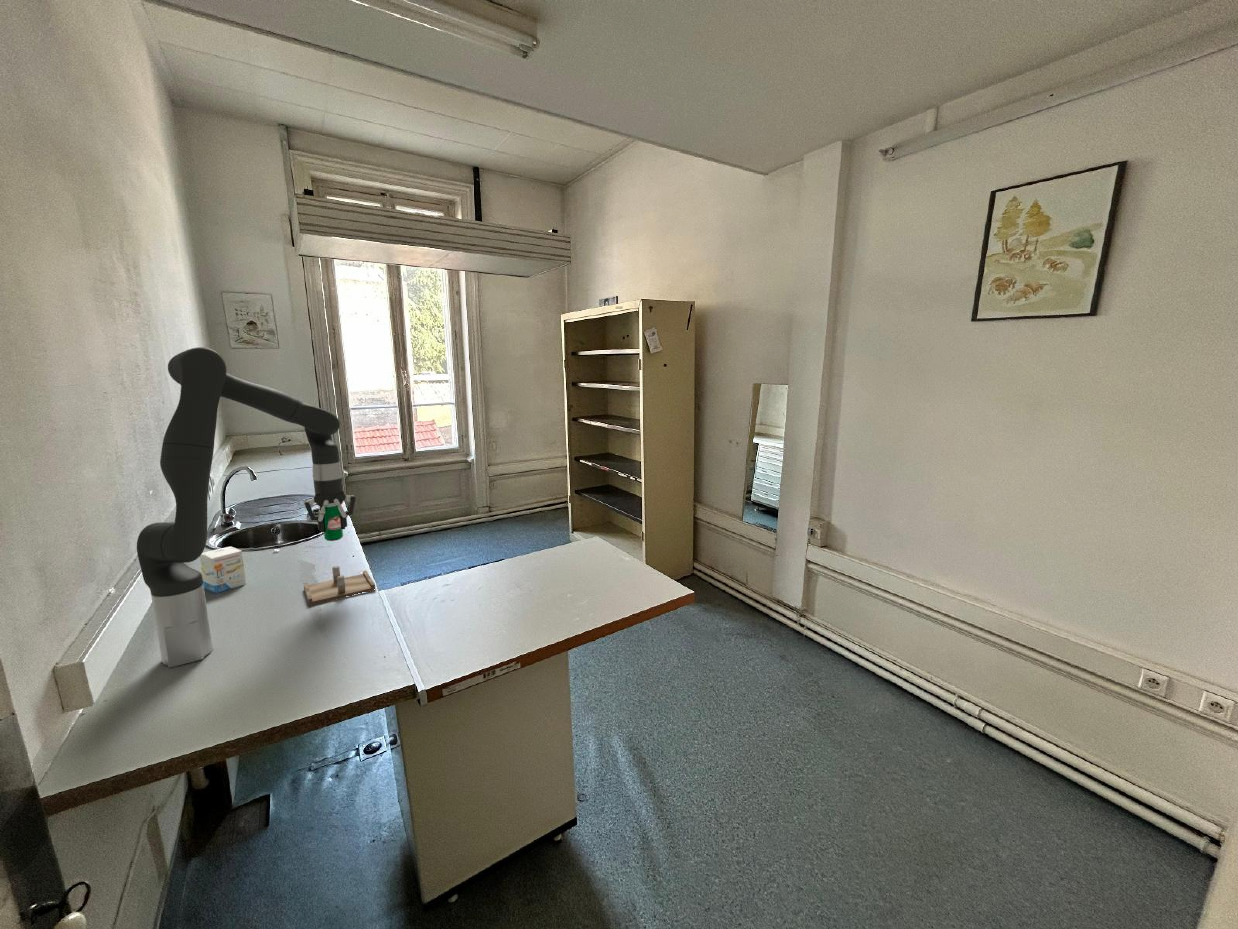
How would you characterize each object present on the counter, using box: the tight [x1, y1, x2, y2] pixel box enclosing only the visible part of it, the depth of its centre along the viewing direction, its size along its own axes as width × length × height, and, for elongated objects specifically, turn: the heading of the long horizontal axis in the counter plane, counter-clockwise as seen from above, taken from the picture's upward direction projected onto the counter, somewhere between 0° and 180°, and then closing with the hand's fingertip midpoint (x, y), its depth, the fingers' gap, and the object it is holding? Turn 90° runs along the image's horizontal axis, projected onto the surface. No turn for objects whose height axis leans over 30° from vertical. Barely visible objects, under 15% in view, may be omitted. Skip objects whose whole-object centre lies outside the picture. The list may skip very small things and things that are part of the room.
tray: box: [303, 565, 376, 607], centre depth 153 cm, size 14×18×6 cm
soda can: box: [323, 502, 344, 542], centre depth 150 cm, size 5×5×12 cm
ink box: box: [199, 546, 247, 594], centre depth 155 cm, size 9×8×12 cm
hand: (333, 530), depth 150 cm, fingers closed on soda can, 5 cm apart
